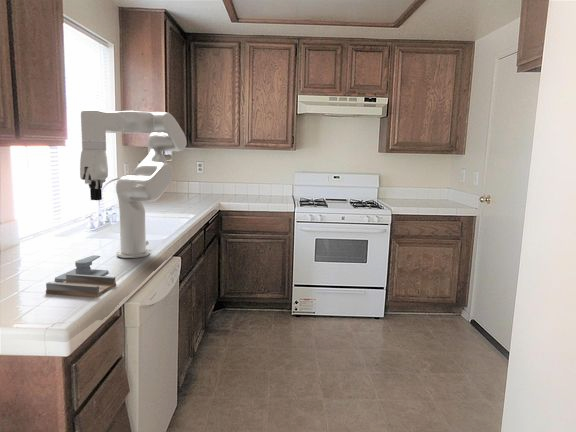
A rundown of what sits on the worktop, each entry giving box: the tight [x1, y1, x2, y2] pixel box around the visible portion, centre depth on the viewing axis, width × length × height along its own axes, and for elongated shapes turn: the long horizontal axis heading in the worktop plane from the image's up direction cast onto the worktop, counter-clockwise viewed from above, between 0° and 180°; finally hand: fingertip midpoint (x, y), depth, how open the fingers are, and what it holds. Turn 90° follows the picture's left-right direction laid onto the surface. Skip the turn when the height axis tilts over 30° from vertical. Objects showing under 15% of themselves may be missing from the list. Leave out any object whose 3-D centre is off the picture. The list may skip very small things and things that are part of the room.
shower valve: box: [54, 255, 109, 283], centre depth 145 cm, size 12×6×15 cm
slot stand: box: [45, 274, 117, 298], centre depth 132 cm, size 11×16×3 cm
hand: (96, 199), depth 150 cm, fingers closed
